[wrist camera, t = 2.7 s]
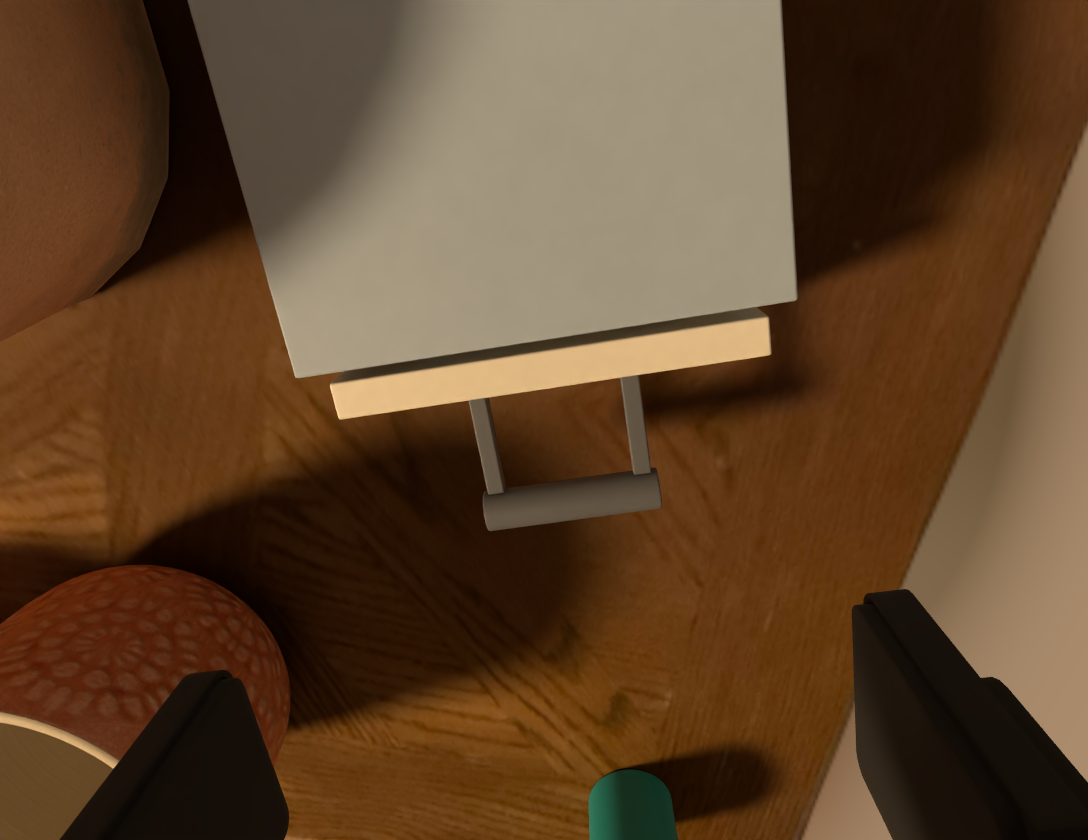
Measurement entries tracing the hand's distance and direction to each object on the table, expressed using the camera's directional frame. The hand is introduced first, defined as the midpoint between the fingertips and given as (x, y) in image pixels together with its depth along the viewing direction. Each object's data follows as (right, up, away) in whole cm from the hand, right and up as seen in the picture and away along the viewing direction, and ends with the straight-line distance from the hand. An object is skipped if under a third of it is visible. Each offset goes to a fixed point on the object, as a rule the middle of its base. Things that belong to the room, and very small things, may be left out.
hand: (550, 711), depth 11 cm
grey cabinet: (-1, +16, +14) cm, 21 cm away
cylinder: (+4, -14, +24) cm, 28 cm away
